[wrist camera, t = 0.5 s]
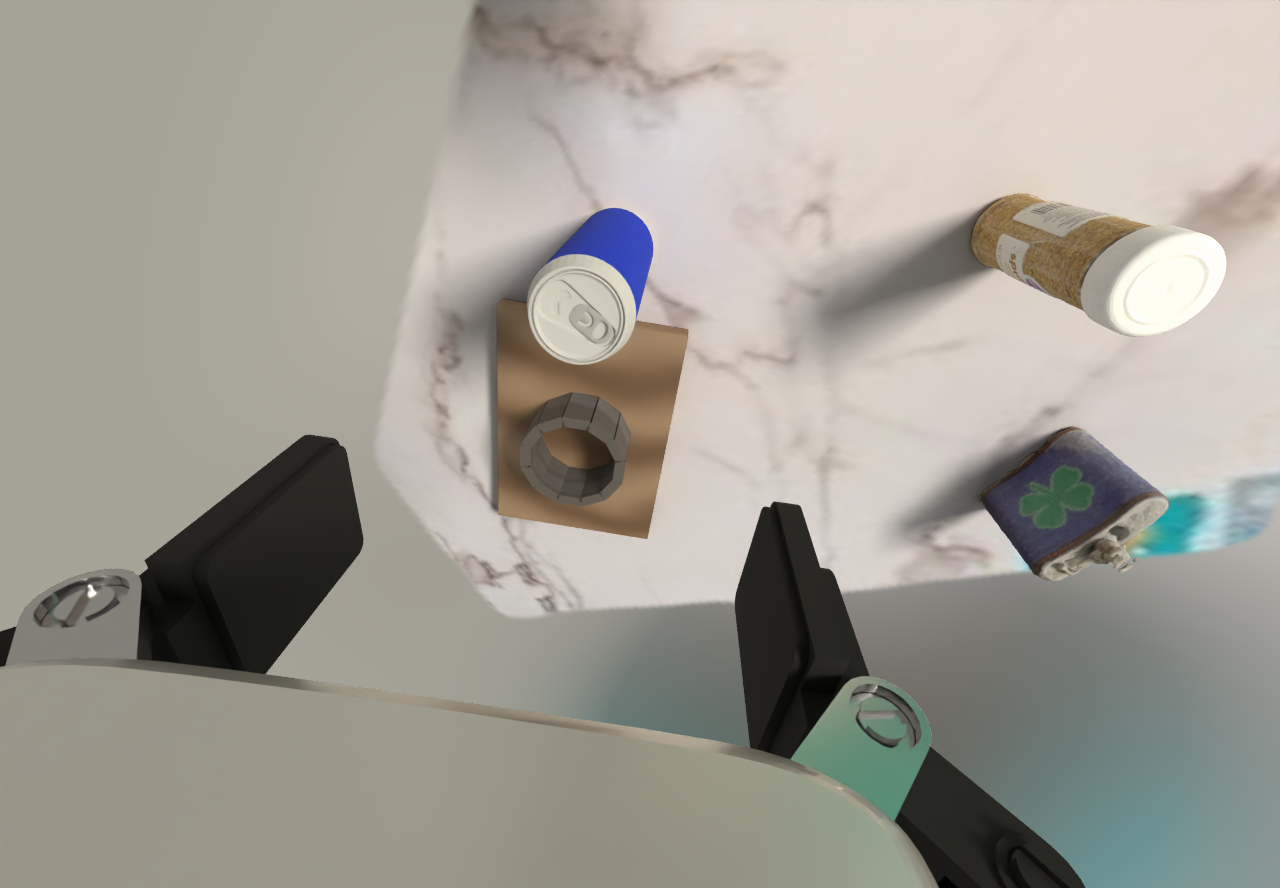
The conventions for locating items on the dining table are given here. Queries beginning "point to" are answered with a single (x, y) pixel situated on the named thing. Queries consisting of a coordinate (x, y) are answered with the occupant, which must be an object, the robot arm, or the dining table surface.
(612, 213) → the beverage can
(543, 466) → the cup holder
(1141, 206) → the dining table surface
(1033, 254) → the sprinkles bottle
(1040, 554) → the flask
